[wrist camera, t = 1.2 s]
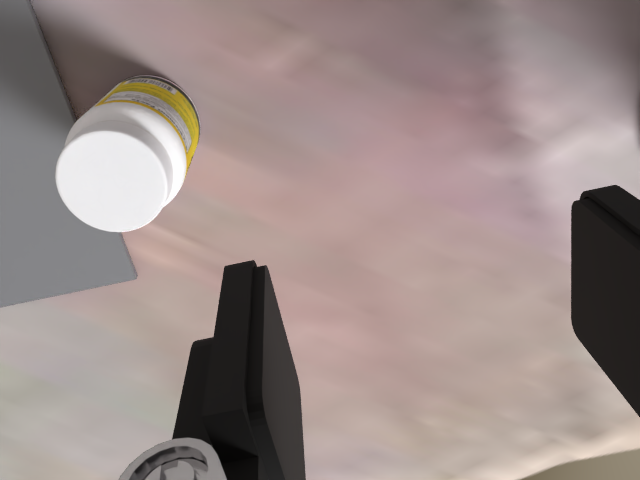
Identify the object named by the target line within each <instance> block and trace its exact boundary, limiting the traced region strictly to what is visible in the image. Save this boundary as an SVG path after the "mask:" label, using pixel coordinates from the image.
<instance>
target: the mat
mask: <svg viewBox="0 0 640 480" xmlns="http://www.w3.org/2000/svg"><path fill="white" fill-rule="evenodd" d="M76 121H77V120H76V117H75V115H74V112H73V110H72V107H71V105H70V102H69V100H68V97H67V94H66V92H65V89H64V87H63V84H62V82H61V79H60V77H59V74H58V72H57V69H56V67H55V64H54V61H53V59H52V56H51V54H50V51H49V49H48V46H47V44H46V41H45V39H44V36H43V33H42V31H41V28H40V26H39V23H38V21H37V18H36V16H35V13H34V11H33V8H32V5H31V3H30V0H0V307H5V306H10V305H15V304H20V303H24V302H29V301H34V300H39V299H44V298H48V297H53V296H58V295H63V294H68V293H72V292H77V291H82V290H87V289H92V288H96V287H101V286H106V285H111V284H116V283H120V282H125V281H130V280H135V279H136V278H137V276H138V275H137V273H136V270H135V267H134V265H133V262H132V260H131V257H130V255H129V252H128V250H127V247H126V245H125V242H124V240H123V237H122V234H121V232H109V231H104V230H100V229H97V228H94V227H92V226H90V225H88V224H86V223H84V222H83V221H81V220H80V219H79V218H77V217H76V216H75V215H74V214H73V213H72V212H71V211H70V210H69V209H68V208H67V206H66V205H65V203H64V202H63V200H62V198H61V197H60V194H59V192H58V189H57V185H56V179H55V171H56V164H57V161H58V158H59V156H60V154H61V152H62V150H63V149H64V147H65V142H66V139H67V136H68V134H69V131H70V130H71V128H72V126H73V125H74V124H75V122H76Z"/></svg>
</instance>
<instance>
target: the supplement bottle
mask: <svg viewBox="0 0 640 480" xmlns="http://www.w3.org/2000/svg"><path fill="white" fill-rule="evenodd" d="M199 136H200V119H199V115H198V112H197V109H196V107H195V105H194V103H193V101H192V100H191V98H190V97H189V96H188V95H187V94H186V93H185V92H184V91H183V90H182V89H181V88H180V87H179V86H177V85H176V84H174V83H173V82H171V81H169V80H167V79H164V78H161V77H157V76H150V75H141V76H135V77H131V78H128V79H126V80H124V81H122V82H120V83H119V84H117V85H116V86H115V87H114V88H113V89H112V90H111V91H110V92H108V93H107V94H106V95H105V96H104V97H103V98H102V99H101V100H100V101H99V102H98V103H96V104H95V105H94V106H93V107H92V108H91V109H90V110H88V111H87V112H86V113H85V114H84V115H83V116H81V117H80V118H79V119H78V120H77V121H76V122H75V124H74V125H73V126H72V128H71V130H70V131H69V134H68V136H67V139H66V142H65V147H64V149H63V150H62V152H61V154H60V156H59V158H58V161H57V164H56V171H55V179H56V185H57V189H58V192H59V194H60V197H61V198H62V200H63V202H64V203H65V205H66V206H67V208H68V209H69V210H70V211H71V212H72V213H73V214H74V215H75V216H76V217H77V218H79V219H80V220H81V221H83V222H84V223H86V224H88V225H90V226H92V227H94V228H97V229H100V230H104V231H109V232H127V231H132V230H135V229H138V228H140V227H143V226H145V225H146V224H148V223H149V222H151V221H152V220H153V219H154V218H155V217H156V216H157V215H158V214H159V212H160V211H161V209H162V208H163V207H164V206H165V205H167V204H168V203H169V202H170V201H171V200H172V199H173V198H174V197H175V196H176V194H177V193H178V192H179V190H180V188H181V187H182V184H183V182H184V180H185V177H186V174H187V171H188V168H189V166H190V163H191V160H192V158H193V155H194V152H195V149H196V146H197V144H198V141H199Z"/></svg>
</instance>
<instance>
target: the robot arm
mask: <svg viewBox="0 0 640 480" xmlns="http://www.w3.org/2000/svg"><path fill="white" fill-rule="evenodd" d="M571 320H572V326H573V329H574V332H575V334H576V336H577V338H578V339H579V340H580V342H581V343H582V344H583V346H584V347H585V348H586V349H587V351H588V352H589V353H590V354H591V356H592V357H593V358H594V360H595V361H596V362H597V363H598V365H599V366H600V367H601V368H602V370H603V371H604V372H605V374H606V375H607V376H608V377H609V379H610V380H611V381H612V382H613V384H614V385H615V386H616V388H617V389H618V390H619V391H620V393H621V394H622V395H623V396H624V398H625V399H626V400H627V402H628V403H629V404H630V405H631V407H632V408H633V409H634V410H635V412H636V413H637V414H638V416H639V417H640V200H639V199H637V198H636V197H634V196H633V195H631V194H630V193H628V192H627V191H625V190H624V189H622V188H621V187H620V186H617V185H612V186H607V187H603V188H598V189H593V190H588V191H584V192H583V193H582V194H581V197H580V200H577V201H574V202H573V204H572V210H571ZM119 480H306V478H305V461H304V445H303V428H302V412H301V395H300V387H299V381H298V377H297V373H296V369H295V365H294V362H293V358H292V354H291V351H290V347H289V343H288V340H287V336H286V332H285V329H284V325H283V321H282V318H281V314H280V310H279V307H278V303H277V299H276V296H275V292H274V288H273V285H272V281H271V277H270V274H269V270H268V268H267V266H266V265H265V266H260V267H257V265H256V263H255V261H254V260H252V261H247V262H242V263H237V264H233V265H228V266H225V268H224V273H223V280H222V286H221V292H220V299H219V305H218V312H217V318H216V325H215V331H214V337H212V338H207V339H203V340H198V341H195V342H193V344H192V347H191V351H190V356H189V361H188V365H187V370H186V375H185V380H184V385H183V390H182V394H181V399H180V404H179V409H178V414H177V419H176V423H175V428H174V433H173V438H172V440H169V441H166V442H163V443H160V444H157V445H156V446H154V447H152V448H150V449H149V450H147V451H145V452H143V453H142V454H141V455H140V456H139V457H137V458H136V459H135V460H134V461H133V462H132V463H130V464H129V466H128V467H127V468H126V470H125V471H124V472H123V474H122V475H121V476H120V478H119Z"/></svg>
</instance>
